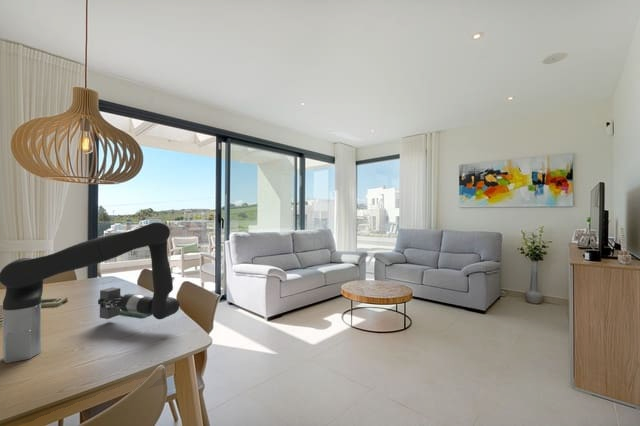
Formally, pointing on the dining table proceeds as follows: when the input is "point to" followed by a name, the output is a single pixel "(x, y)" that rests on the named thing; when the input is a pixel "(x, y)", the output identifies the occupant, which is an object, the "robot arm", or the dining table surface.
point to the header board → (133, 314)
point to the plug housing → (113, 311)
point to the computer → (53, 302)
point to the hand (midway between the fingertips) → (106, 299)
